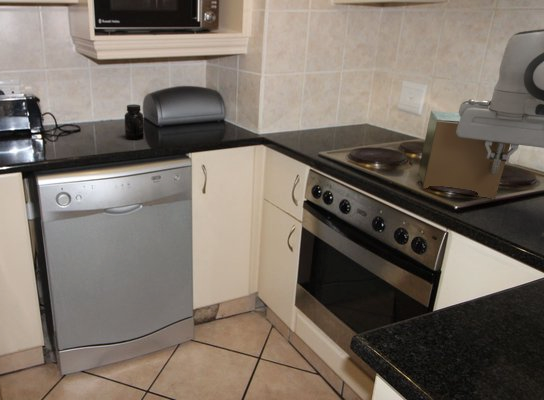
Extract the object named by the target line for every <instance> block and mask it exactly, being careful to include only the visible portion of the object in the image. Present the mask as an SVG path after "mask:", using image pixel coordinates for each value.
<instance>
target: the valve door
mask: <svg viewBox="0 0 544 400" xmlns="http://www.w3.org/2000/svg"><path fill="white" fill-rule="evenodd" d="M457 126H458V123H456V122H446V121H438V122H437V126H436V131H435V136H434V140H433V145H432V149H431V154H430V158H429V163H428V168H427V172H426V177H425V181H424V186H422V188H423V189H425V190H427V189H426V188H428V187H429V186H444V187H453V188H460V189H467V190H472V191H475V192H477V193H478V195H479V196H483V197H489V198H495V199H496V197H497V193H498V190H499V188H500V187H499V186H500V183H501V179H502V175H503V172H504V169H505V165H506V162H505V161H501V158H502V154H503V153H507V152H508V151H509V150H510V149H511V144H509V143H501V142H492V145H491V146H490V148H491V151H495V156H494V160H491V159H487V154H488V152H487V149H486V146H485V140H477V139H469V138H461V137H458V136H457V135H456V129H457Z"/></svg>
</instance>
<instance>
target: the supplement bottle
mask: <svg viewBox="0 0 544 400" xmlns="http://www.w3.org/2000/svg"><path fill="white" fill-rule="evenodd" d="M141 111H142V110H141V105H140V104H127V105H126V112H125V114H124V137H125V139H126V140H129V141H140V140H143V139H144V136H145V135H144V134H145V132H144V129H145V128H144V127H145V126H144V124H145V123H144V114H143V113H142V112H141Z"/></svg>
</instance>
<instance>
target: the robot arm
mask: <svg viewBox="0 0 544 400" xmlns="http://www.w3.org/2000/svg"><path fill="white" fill-rule="evenodd" d="M492 90H493V91H492V94H491V98H490V100H483V99H482V100H480V99H479V100H477V99H473V98H472V99H468V100H465V101H464V102H461V104H460V105H459V109H458V113H459V115H460V117H461V118H460V120H459V123H458V126H457V129H456V135H457V136H458V137H461V138H469V139H477V140H485V146H486V149H487V152H488V154H487V159H491V160H494V156H495V151H491V148H490V146H491V145H492V142H501V143H509V144H510V148H509V151H508V152H507V153H503V154H502V158H501V161H505V163H508V162H509V161H510V157H511V156H512V155H513V154H514V153H515V152H516V151H517V150H518V148H519V146H526V147H533V148H541V149H542V148H543V149H544V28H542V29H532V30H525V31H519V32H516V33H514V34H513V35H511V37H509V39H508V40H507V43H506V44H505V47H504V50H503V54H502V56H501V59H500V61H499V67H498V78H497V80H496V83H495V85H494V86H493V89H492Z"/></svg>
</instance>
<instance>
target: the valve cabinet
mask: <svg viewBox="0 0 544 400" xmlns="http://www.w3.org/2000/svg"><path fill="white" fill-rule="evenodd" d="M460 118H461V117H460V115H459V112H451V111H440V110H430V114H429V119H428V124H427V129H426V133H425V138H424V143H423V148H422V152H421V157H420V162H419V167H418V171H417V176H418V178H419V180H420V183H421V182H422V184H421V186H422V187H423V186H424V181H425V177H426V172H427V168H428V163H429V158H430V154H431V149H432V145H433V140H434V136H435V131H436V126H437V122H438V121H446V122H456V123H459V120H460Z"/></svg>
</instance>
